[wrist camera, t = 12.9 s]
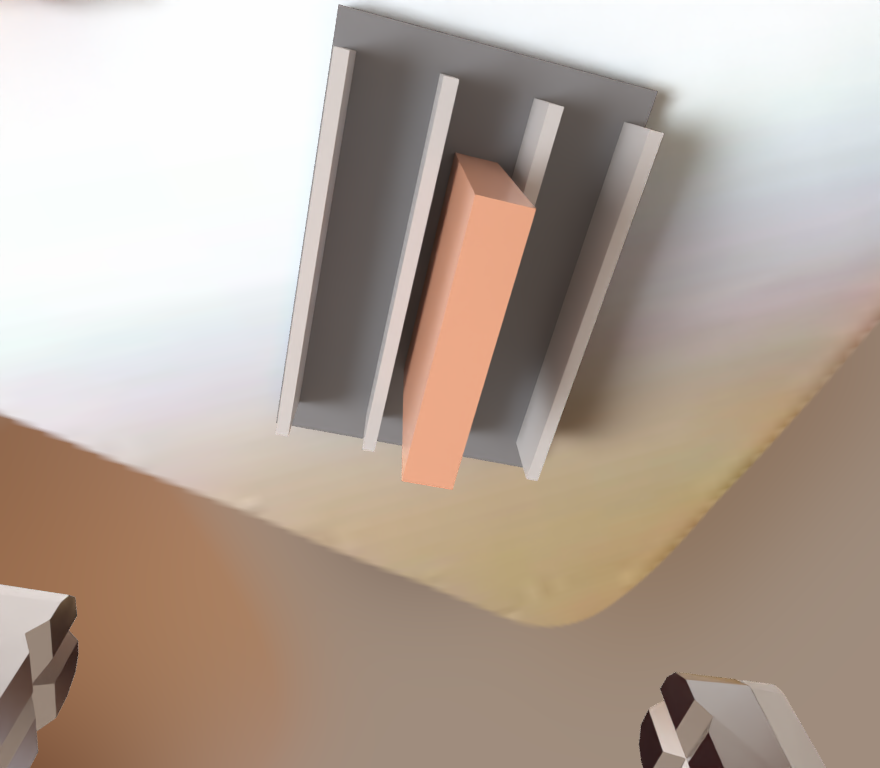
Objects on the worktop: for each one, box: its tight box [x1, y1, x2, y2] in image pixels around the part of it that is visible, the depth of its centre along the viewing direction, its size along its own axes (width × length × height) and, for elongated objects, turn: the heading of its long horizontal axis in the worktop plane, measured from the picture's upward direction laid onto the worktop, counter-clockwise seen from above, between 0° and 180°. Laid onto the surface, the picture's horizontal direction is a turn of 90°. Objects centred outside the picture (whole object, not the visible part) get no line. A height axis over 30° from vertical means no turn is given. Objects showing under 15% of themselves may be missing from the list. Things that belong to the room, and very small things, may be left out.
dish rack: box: [276, 5, 664, 481], centre depth 31 cm, size 20×14×5 cm
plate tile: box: [402, 152, 536, 490], centre depth 27 cm, size 11×2×10 cm, turn 167°
